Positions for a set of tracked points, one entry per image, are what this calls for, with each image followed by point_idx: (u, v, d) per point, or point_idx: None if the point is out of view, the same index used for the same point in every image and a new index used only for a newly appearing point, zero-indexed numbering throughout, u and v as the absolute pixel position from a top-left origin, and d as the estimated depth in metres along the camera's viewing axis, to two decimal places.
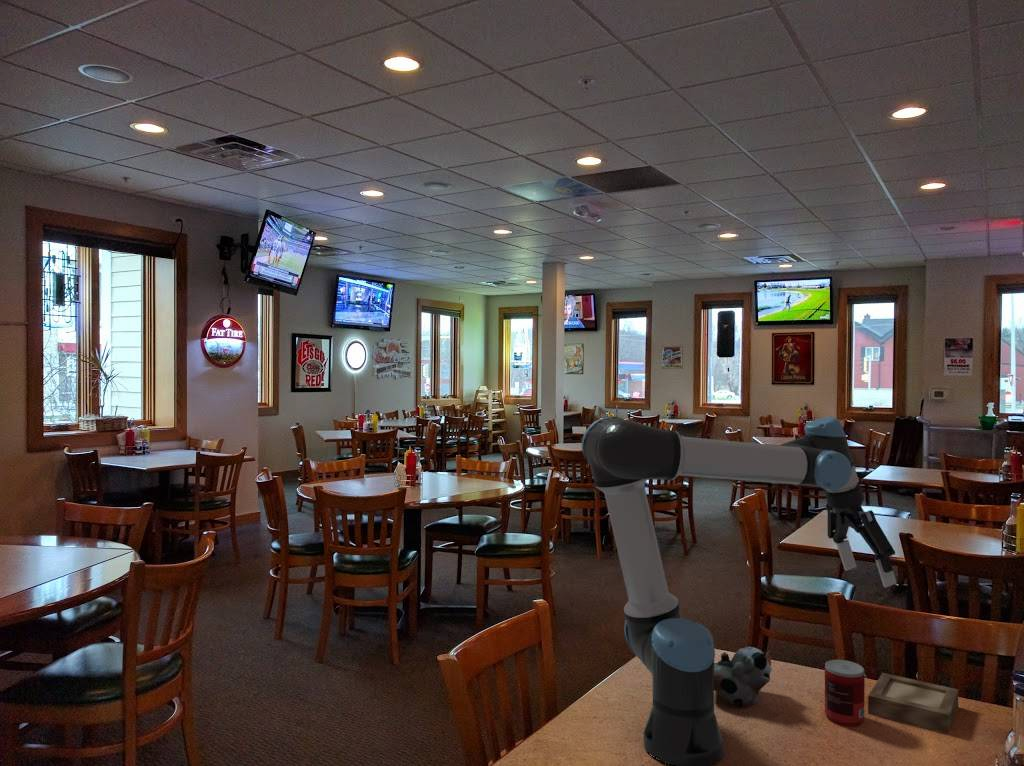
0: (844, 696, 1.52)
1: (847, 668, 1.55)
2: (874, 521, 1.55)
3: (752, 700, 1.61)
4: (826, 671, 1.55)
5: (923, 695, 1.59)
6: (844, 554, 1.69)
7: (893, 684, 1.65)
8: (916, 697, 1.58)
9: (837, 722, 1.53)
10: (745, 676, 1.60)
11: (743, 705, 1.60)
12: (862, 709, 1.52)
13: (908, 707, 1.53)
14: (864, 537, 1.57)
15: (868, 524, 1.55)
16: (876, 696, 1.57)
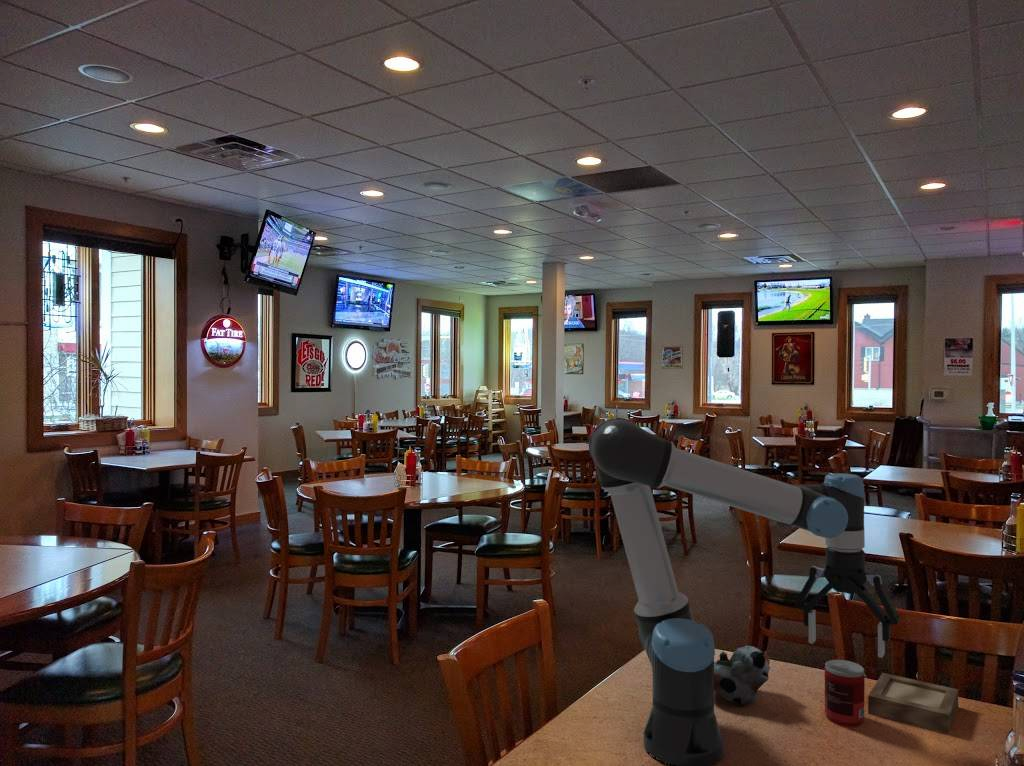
0: (844, 696, 1.52)
1: (847, 668, 1.55)
2: (882, 585, 1.51)
3: (751, 699, 1.61)
4: (826, 671, 1.55)
5: (923, 695, 1.59)
6: (813, 625, 1.58)
7: (893, 684, 1.65)
8: (916, 697, 1.58)
9: (837, 722, 1.53)
10: (744, 675, 1.61)
11: (742, 704, 1.61)
12: (862, 709, 1.52)
13: (908, 707, 1.53)
14: (869, 602, 1.51)
15: (881, 588, 1.50)
16: (876, 696, 1.57)
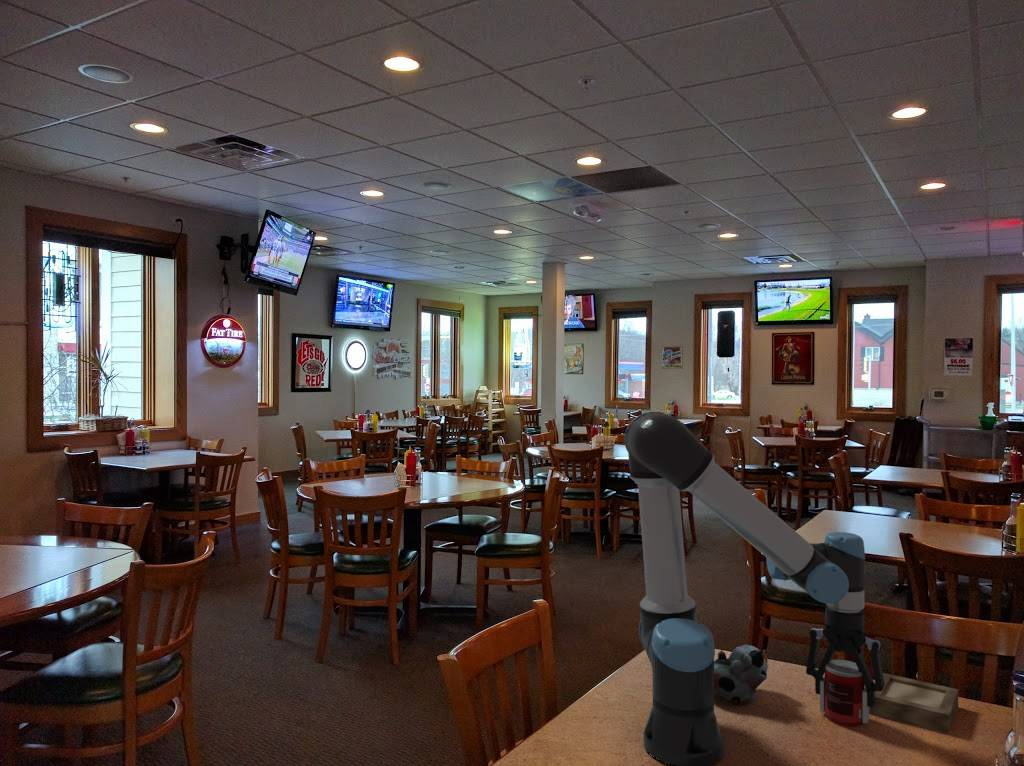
0: (844, 695, 1.52)
1: (847, 668, 1.55)
2: None
3: (749, 698, 1.62)
4: (826, 671, 1.55)
5: (923, 695, 1.59)
6: (824, 693, 1.57)
7: (893, 684, 1.65)
8: (916, 697, 1.58)
9: (837, 722, 1.53)
10: (742, 674, 1.61)
11: (741, 703, 1.61)
12: (862, 709, 1.52)
13: (908, 707, 1.53)
14: (861, 666, 1.52)
15: (877, 654, 1.51)
16: (876, 696, 1.57)
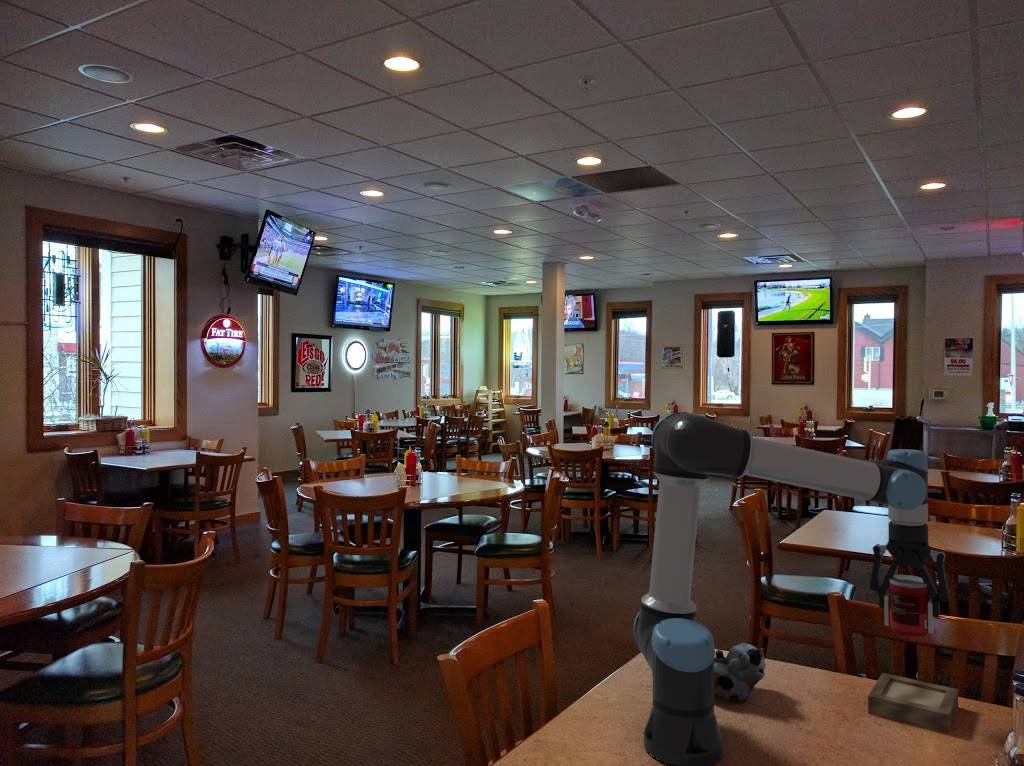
0: (910, 606, 1.55)
1: (911, 581, 1.58)
2: (943, 563, 1.55)
3: (747, 696, 1.63)
4: (891, 584, 1.58)
5: (923, 695, 1.59)
6: (888, 607, 1.60)
7: (893, 684, 1.65)
8: (916, 697, 1.58)
9: (903, 633, 1.56)
10: (740, 673, 1.62)
11: (739, 701, 1.62)
12: (927, 619, 1.55)
13: (908, 707, 1.53)
14: (926, 577, 1.55)
15: (942, 565, 1.54)
16: (876, 696, 1.57)
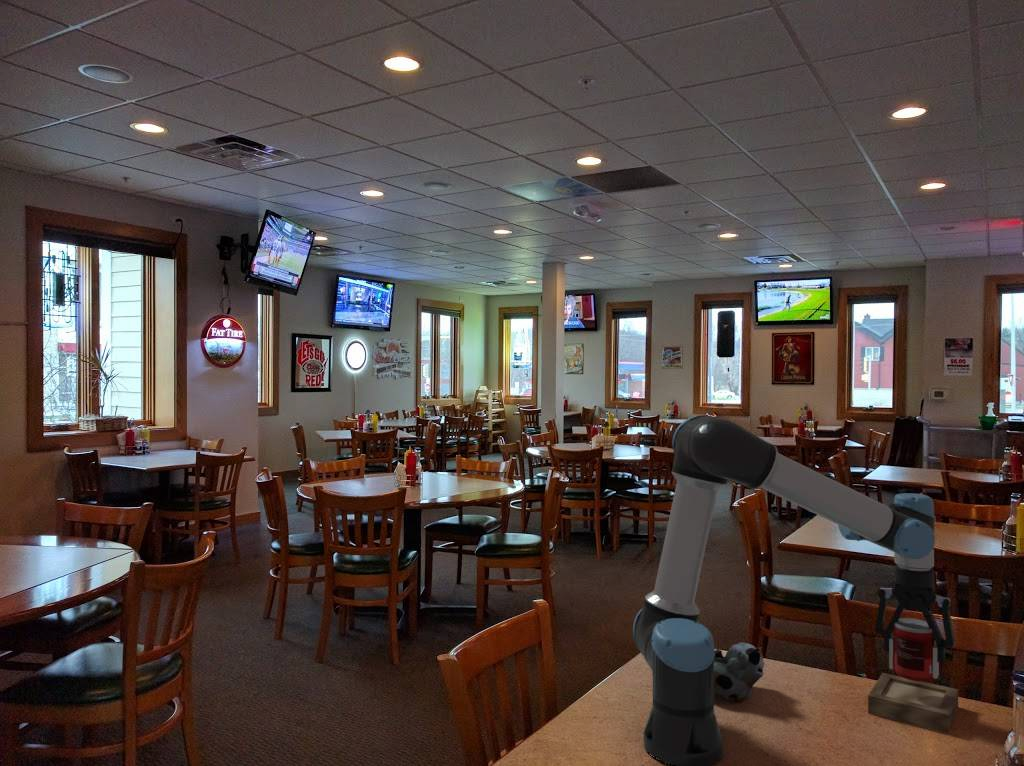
0: (915, 651, 1.55)
1: (916, 625, 1.59)
2: None
3: (746, 695, 1.63)
4: (896, 628, 1.59)
5: (923, 695, 1.59)
6: (893, 651, 1.61)
7: (893, 684, 1.65)
8: (916, 697, 1.58)
9: (908, 677, 1.56)
10: (739, 672, 1.63)
11: (738, 700, 1.63)
12: (932, 664, 1.56)
13: (908, 707, 1.53)
14: (931, 623, 1.56)
15: (947, 611, 1.54)
16: (876, 696, 1.57)
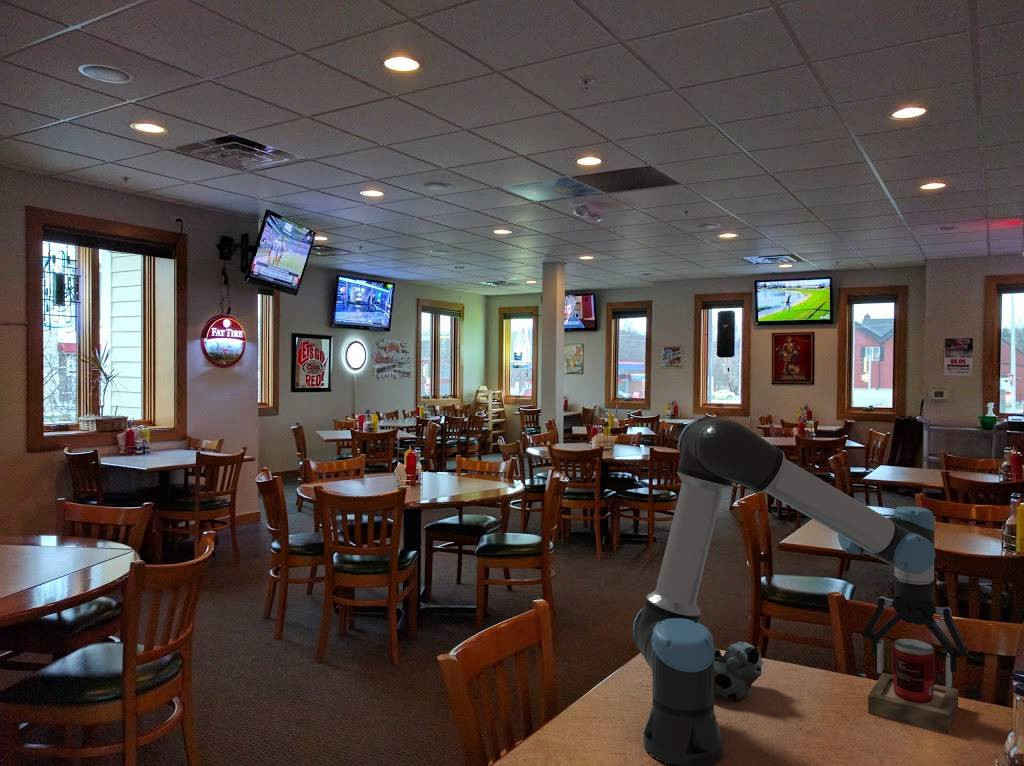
0: (915, 673, 1.55)
1: (916, 646, 1.59)
2: (952, 618, 1.55)
3: (745, 694, 1.64)
4: (896, 649, 1.59)
5: None
6: (881, 655, 1.62)
7: (893, 684, 1.65)
8: None
9: (907, 699, 1.56)
10: (738, 671, 1.63)
11: (737, 699, 1.63)
12: (932, 686, 1.56)
13: (908, 707, 1.53)
14: (938, 634, 1.55)
15: (951, 620, 1.54)
16: (876, 696, 1.57)
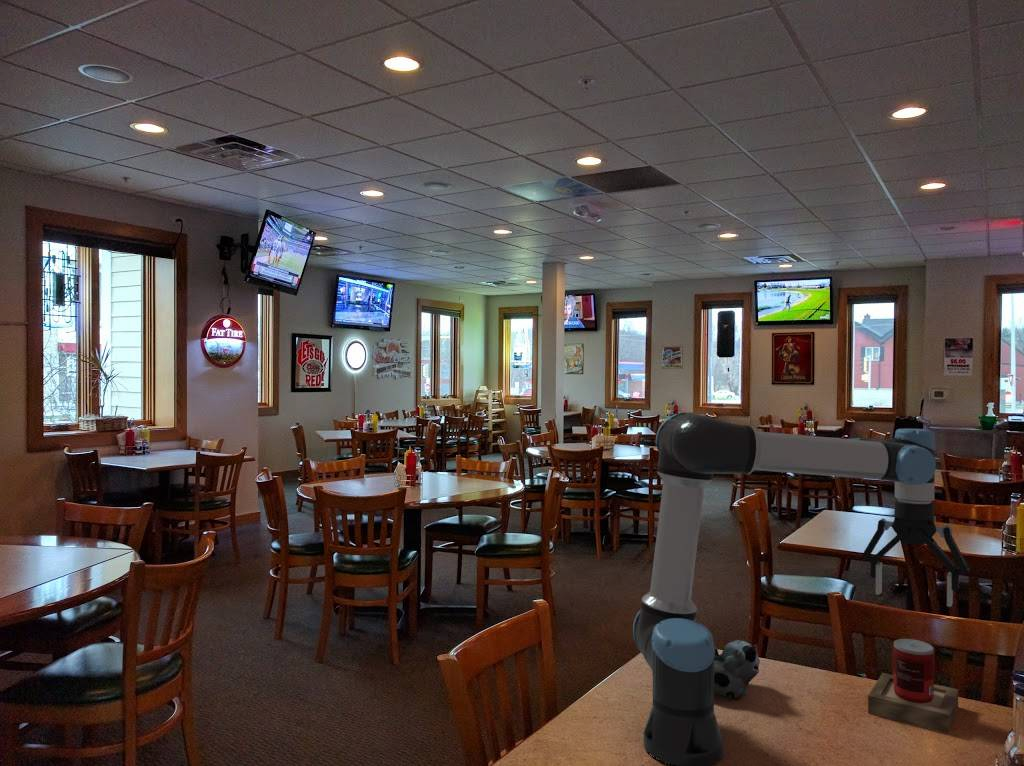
0: (915, 673, 1.55)
1: (916, 646, 1.59)
2: (952, 537, 1.55)
3: (743, 693, 1.65)
4: (896, 649, 1.59)
5: None
6: (880, 576, 1.62)
7: (893, 684, 1.65)
8: None
9: (907, 699, 1.56)
10: (736, 669, 1.64)
11: (735, 698, 1.64)
12: (932, 686, 1.56)
13: (908, 707, 1.53)
14: (939, 552, 1.55)
15: (951, 538, 1.54)
16: (876, 696, 1.57)
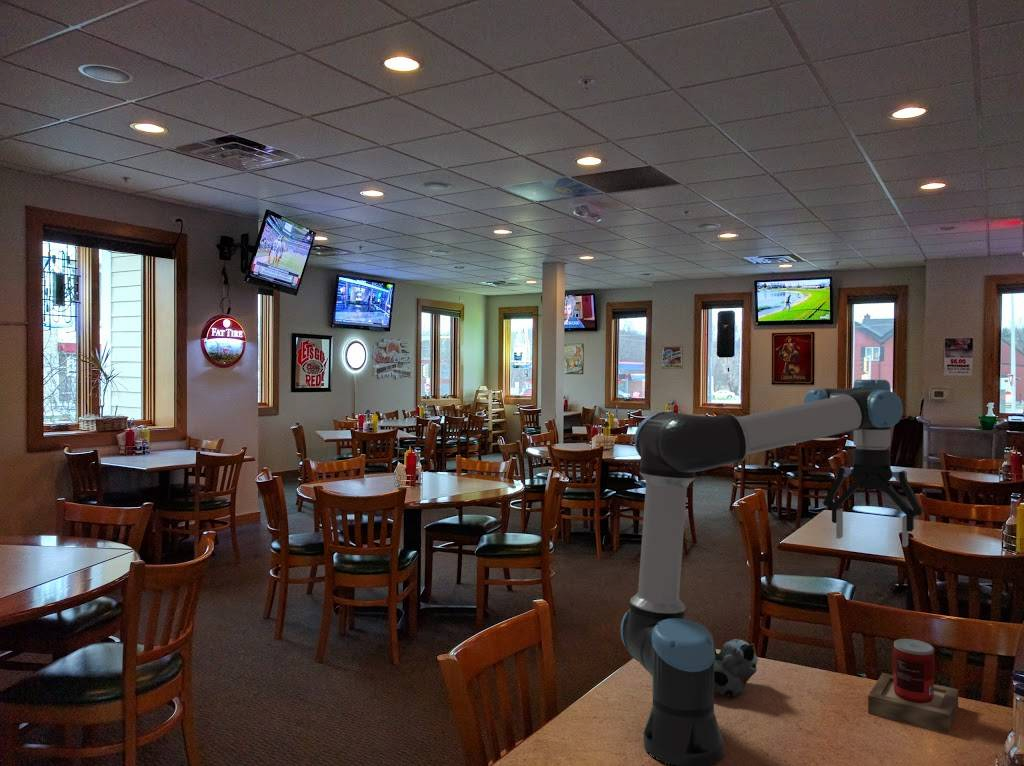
0: (915, 673, 1.55)
1: (916, 646, 1.59)
2: (907, 481, 1.62)
3: (741, 691, 1.65)
4: (896, 649, 1.59)
5: None
6: (840, 521, 1.70)
7: (893, 684, 1.65)
8: None
9: (907, 699, 1.56)
10: (735, 668, 1.65)
11: (733, 696, 1.65)
12: (932, 686, 1.56)
13: (908, 707, 1.53)
14: (895, 496, 1.62)
15: (906, 482, 1.61)
16: (876, 696, 1.57)
